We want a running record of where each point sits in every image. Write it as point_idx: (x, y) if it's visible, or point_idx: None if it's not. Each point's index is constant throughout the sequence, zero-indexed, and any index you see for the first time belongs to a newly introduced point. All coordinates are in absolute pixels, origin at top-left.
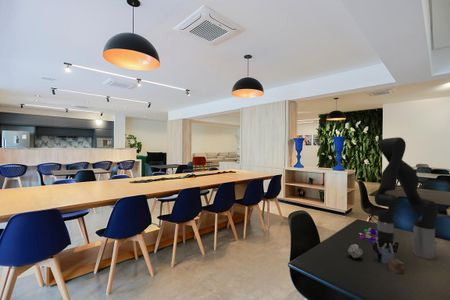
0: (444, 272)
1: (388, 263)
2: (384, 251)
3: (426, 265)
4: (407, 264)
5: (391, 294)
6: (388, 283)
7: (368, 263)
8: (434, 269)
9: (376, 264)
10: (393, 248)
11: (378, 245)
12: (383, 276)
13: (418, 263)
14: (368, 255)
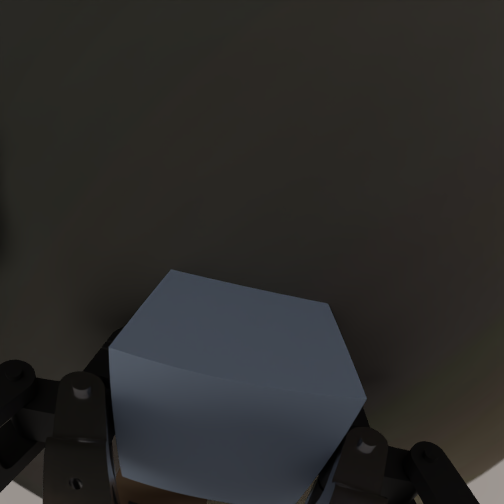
0: (472, 479)
1: (116, 478)
2: (231, 444)
3: (499, 430)
4: (404, 433)
5: (24, 486)
6: (38, 475)
7: (9, 332)
8: (473, 464)
9: (64, 372)
10: (433, 494)
11: (51, 495)
12: (39, 453)
13: (496, 412)
14: (120, 163)
